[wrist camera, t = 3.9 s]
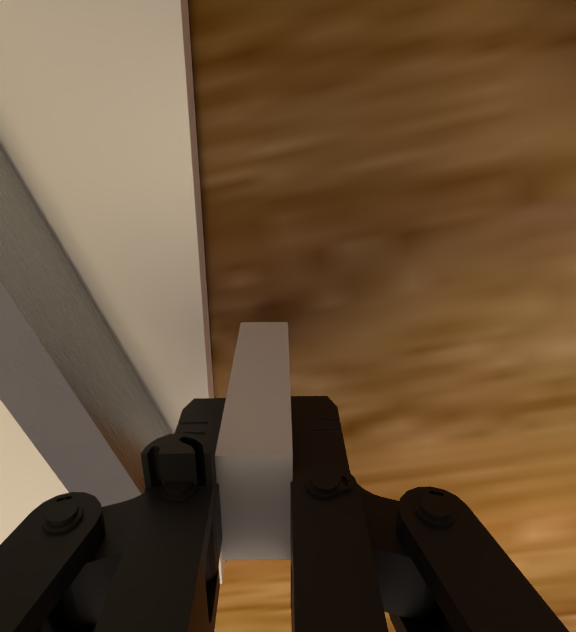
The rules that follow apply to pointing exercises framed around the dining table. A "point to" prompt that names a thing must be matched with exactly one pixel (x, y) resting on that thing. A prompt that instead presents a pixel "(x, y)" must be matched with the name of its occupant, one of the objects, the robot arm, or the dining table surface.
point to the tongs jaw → (65, 363)
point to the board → (110, 194)
